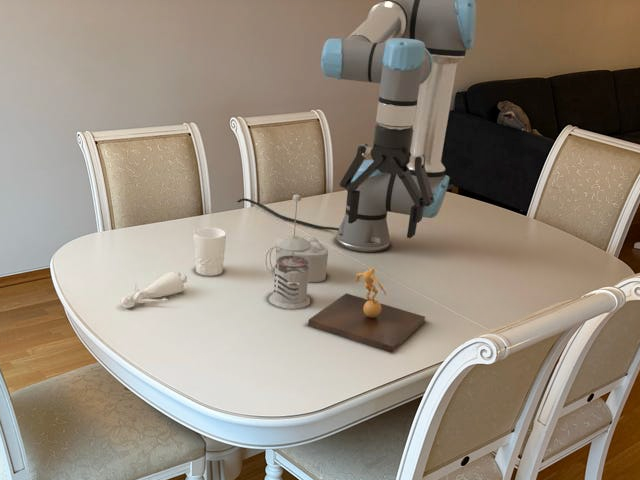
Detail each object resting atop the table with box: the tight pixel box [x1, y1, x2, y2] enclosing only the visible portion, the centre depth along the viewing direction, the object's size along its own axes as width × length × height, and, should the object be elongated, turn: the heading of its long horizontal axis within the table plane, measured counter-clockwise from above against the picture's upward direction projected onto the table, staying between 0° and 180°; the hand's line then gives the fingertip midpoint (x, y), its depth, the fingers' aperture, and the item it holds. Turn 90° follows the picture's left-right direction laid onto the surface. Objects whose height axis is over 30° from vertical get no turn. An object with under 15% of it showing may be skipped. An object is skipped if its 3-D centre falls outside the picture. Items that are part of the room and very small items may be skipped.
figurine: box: [355, 267, 387, 318], centre depth 152 cm, size 8×6×12 cm
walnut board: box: [307, 293, 426, 353], centre depth 155 cm, size 20×18×2 cm
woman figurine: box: [120, 271, 188, 309], centre depth 159 cm, size 12×4×18 cm
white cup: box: [192, 227, 227, 277], centre depth 174 cm, size 8×8×10 cm
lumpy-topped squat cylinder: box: [274, 235, 329, 283], centre depth 177 cm, size 10×13×9 cm
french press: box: [265, 194, 312, 310], centre depth 158 cm, size 10×12×25 cm
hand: (381, 229), depth 148 cm, fingers open, 13 cm apart
